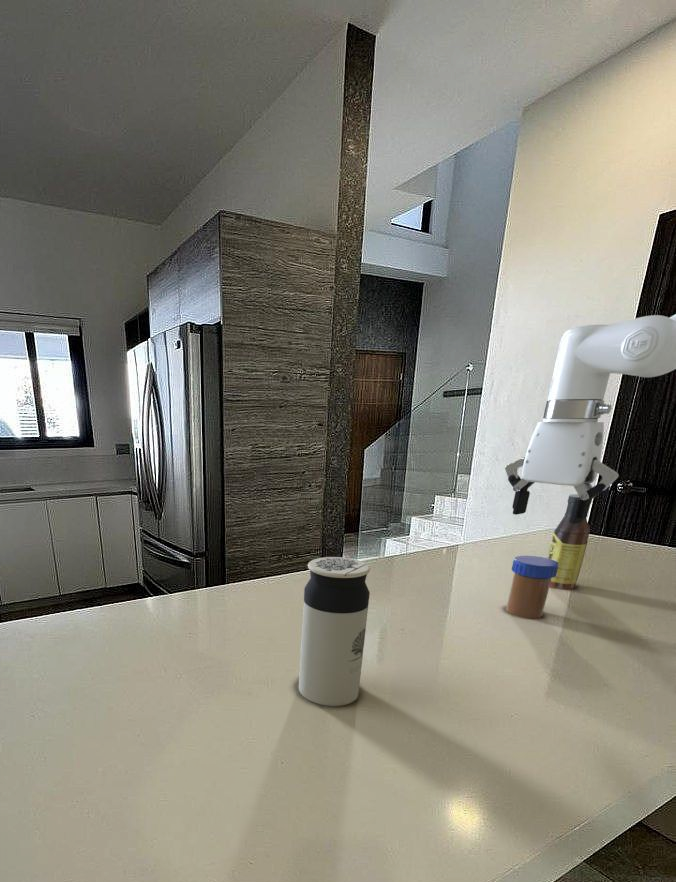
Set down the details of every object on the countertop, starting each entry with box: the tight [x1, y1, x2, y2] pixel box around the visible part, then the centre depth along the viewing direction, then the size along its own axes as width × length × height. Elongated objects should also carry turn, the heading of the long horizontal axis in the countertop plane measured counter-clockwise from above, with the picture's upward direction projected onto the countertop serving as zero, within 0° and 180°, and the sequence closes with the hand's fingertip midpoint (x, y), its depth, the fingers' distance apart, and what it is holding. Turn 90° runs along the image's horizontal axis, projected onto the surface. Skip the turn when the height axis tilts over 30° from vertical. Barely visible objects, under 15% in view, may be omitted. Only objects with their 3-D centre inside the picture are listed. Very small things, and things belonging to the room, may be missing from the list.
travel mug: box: [298, 556, 371, 707], centre depth 62 cm, size 8×8×18 cm
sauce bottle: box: [547, 493, 593, 590], centre depth 102 cm, size 7×6×20 cm
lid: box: [511, 555, 558, 579], centre depth 87 cm, size 7×7×2 cm
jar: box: [505, 572, 552, 619], centre depth 89 cm, size 6×6×10 cm
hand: (546, 517), depth 84 cm, fingers open, 9 cm apart
